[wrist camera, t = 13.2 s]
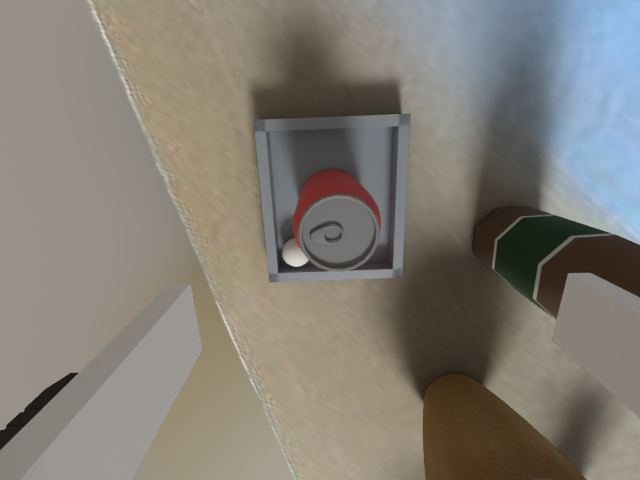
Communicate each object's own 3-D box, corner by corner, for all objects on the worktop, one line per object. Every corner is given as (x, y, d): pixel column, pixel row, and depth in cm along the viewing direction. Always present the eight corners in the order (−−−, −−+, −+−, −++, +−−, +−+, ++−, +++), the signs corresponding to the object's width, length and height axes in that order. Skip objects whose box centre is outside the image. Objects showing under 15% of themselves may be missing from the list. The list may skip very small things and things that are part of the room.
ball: (282, 234, 33) (279, 243, 30) (310, 233, 33) (309, 242, 30) (284, 260, 34) (281, 271, 31) (311, 259, 34) (311, 270, 31)
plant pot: (492, 332, 38) (607, 460, 23) (515, 417, 43) (625, 573, 27) (378, 370, 40) (416, 513, 25) (412, 448, 44) (462, 611, 29)
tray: (259, 121, 30) (253, 119, 28) (401, 116, 30) (410, 113, 27) (273, 270, 35) (269, 282, 32) (395, 266, 35) (402, 277, 32)
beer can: (295, 171, 31) (283, 191, 20) (360, 164, 31) (386, 179, 20) (303, 233, 33) (296, 283, 22) (365, 227, 33) (390, 274, 22)
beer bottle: (459, 222, 34) (755, 395, 11) (529, 190, 33) (1018, 309, 10) (480, 280, 36) (764, 525, 13) (547, 252, 35) (979, 465, 12)
